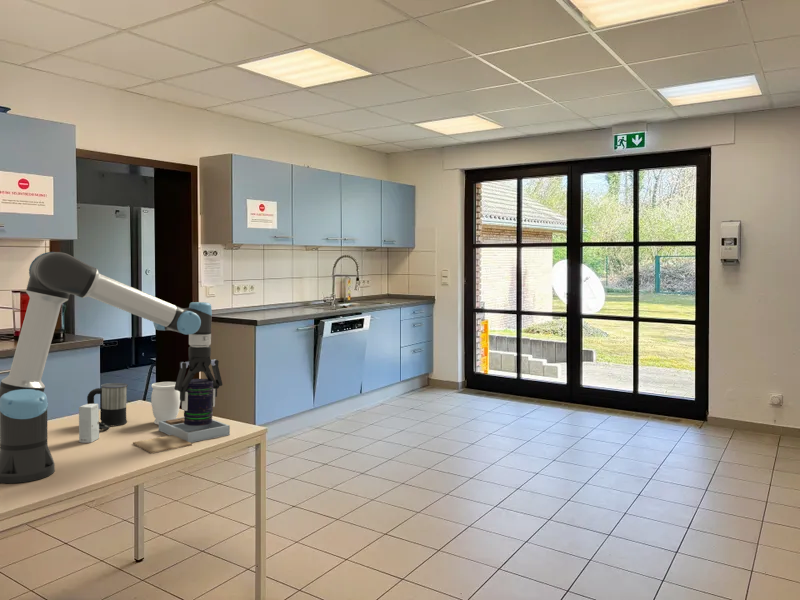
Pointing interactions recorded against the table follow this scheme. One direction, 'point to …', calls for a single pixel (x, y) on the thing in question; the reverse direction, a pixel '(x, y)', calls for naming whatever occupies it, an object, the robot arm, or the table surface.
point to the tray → (185, 430)
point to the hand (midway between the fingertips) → (198, 408)
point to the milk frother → (111, 404)
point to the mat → (162, 443)
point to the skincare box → (88, 423)
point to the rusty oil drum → (199, 403)
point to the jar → (165, 401)
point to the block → (173, 421)
